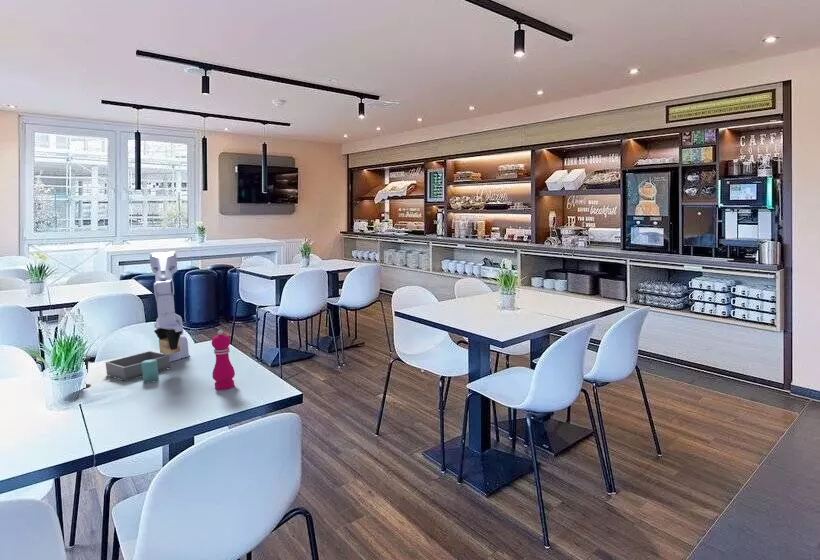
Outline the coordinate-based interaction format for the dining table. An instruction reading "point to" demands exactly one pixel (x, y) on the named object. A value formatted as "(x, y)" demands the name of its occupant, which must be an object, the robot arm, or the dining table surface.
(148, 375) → the teal block
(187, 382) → the dining table surface
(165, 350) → the oak cube
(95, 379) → the dining table surface
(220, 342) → the pepper mill
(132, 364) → the tote
